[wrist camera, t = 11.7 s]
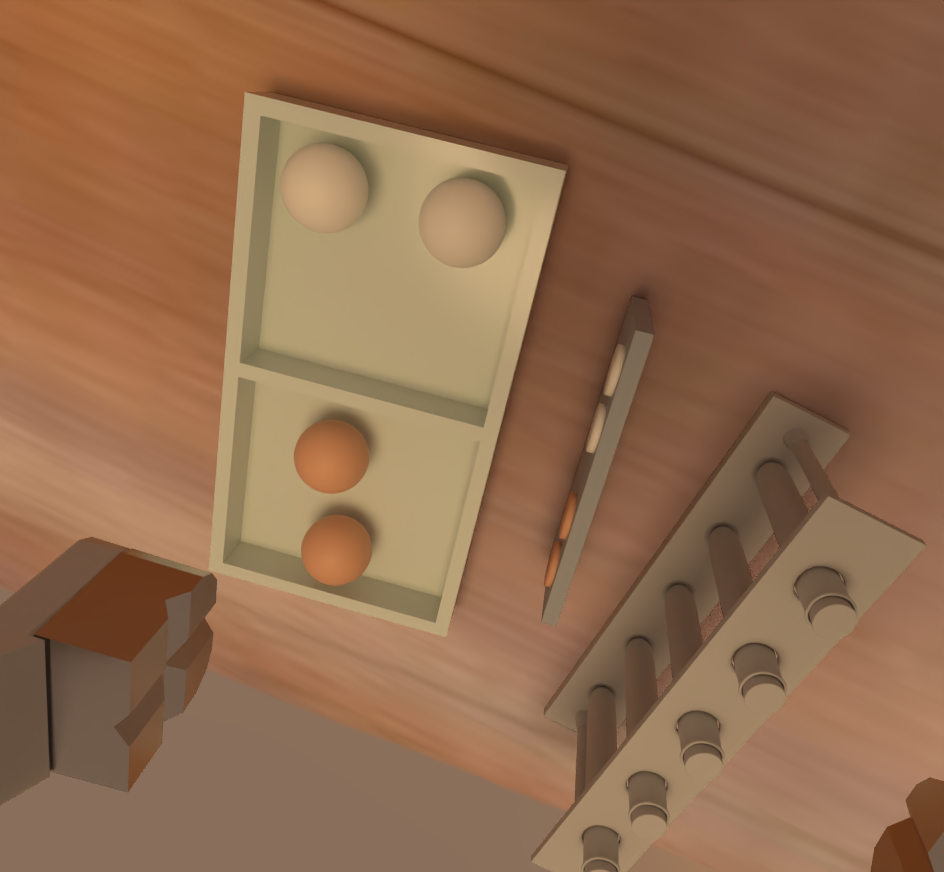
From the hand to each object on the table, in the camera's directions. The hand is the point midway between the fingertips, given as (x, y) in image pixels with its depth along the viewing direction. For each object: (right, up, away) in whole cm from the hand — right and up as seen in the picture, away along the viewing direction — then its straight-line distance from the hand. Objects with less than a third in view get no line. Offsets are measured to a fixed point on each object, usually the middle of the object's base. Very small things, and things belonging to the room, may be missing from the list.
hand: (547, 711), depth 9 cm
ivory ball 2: (-1, +14, +28) cm, 31 cm away
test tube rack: (+11, -5, +35) cm, 38 cm away
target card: (+6, +3, +32) cm, 33 cm away
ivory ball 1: (-7, +15, +28) cm, 33 cm away
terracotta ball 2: (-8, -3, +36) cm, 37 cm away
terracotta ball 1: (-7, +2, +34) cm, 35 cm away
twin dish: (-6, +6, +33) cm, 34 cm away
